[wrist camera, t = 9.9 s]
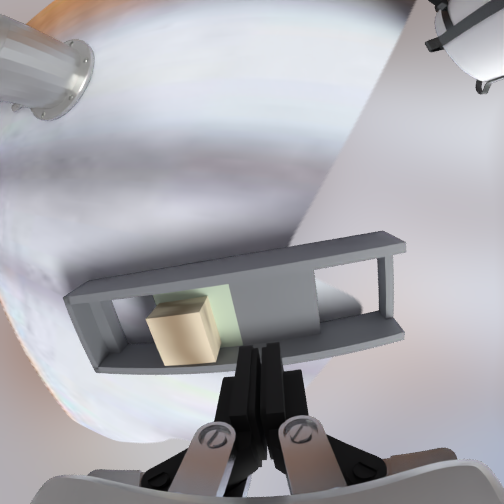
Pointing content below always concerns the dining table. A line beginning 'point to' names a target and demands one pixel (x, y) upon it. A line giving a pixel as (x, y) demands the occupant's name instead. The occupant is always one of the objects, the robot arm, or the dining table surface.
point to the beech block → (185, 331)
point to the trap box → (243, 306)
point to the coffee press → (472, 37)
